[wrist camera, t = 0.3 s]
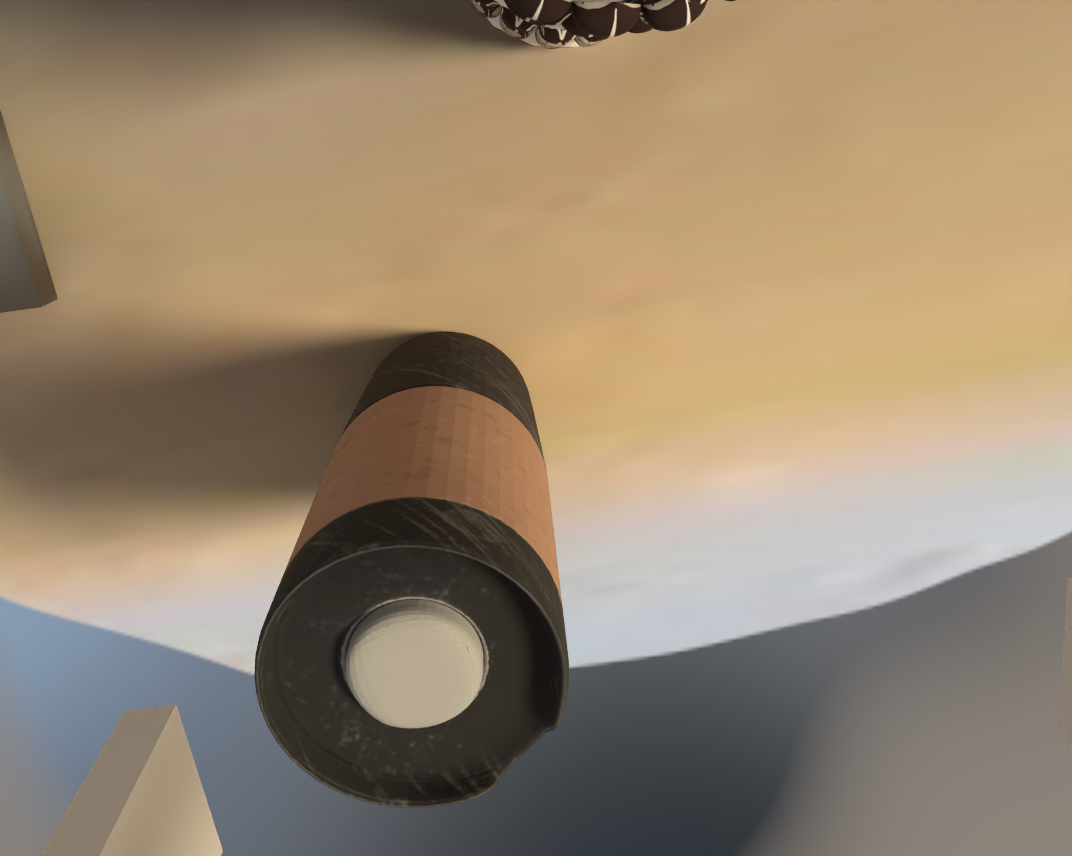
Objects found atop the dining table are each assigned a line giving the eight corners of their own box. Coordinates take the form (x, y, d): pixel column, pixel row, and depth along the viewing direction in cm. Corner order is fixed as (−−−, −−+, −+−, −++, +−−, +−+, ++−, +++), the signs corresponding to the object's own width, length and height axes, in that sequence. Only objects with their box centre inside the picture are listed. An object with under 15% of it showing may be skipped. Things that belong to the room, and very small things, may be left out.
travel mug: (349, 329, 40) (222, 549, 21) (532, 318, 40) (568, 526, 21) (370, 497, 42) (272, 825, 24) (541, 486, 43) (580, 803, 24)
